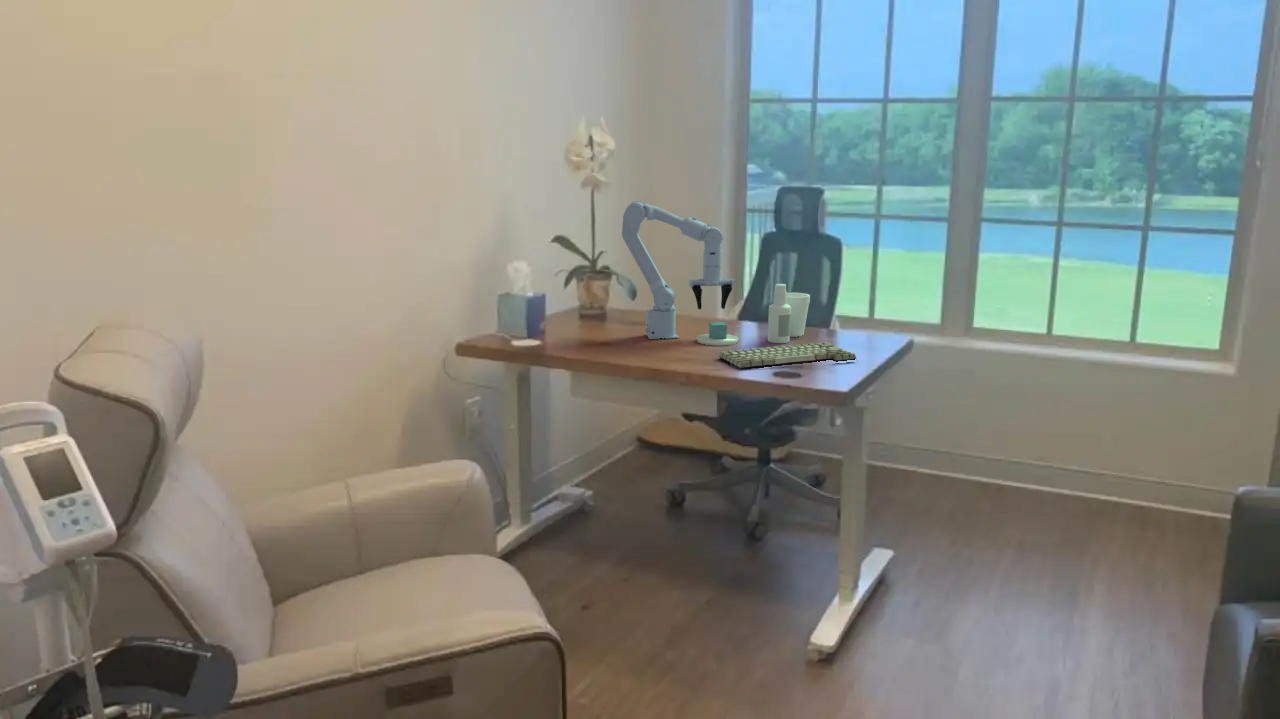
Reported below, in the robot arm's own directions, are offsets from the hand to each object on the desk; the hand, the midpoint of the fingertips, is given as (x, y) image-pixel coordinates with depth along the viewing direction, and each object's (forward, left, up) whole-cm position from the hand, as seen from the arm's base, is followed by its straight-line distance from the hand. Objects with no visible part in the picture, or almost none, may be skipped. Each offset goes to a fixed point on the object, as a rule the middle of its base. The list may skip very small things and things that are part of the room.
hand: (711, 308), depth 322 cm
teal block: (+1, -6, -8) cm, 10 cm away
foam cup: (+28, 0, -10) cm, 29 cm away
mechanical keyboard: (+14, -34, -10) cm, 38 cm away
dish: (+1, -6, -9) cm, 11 cm away
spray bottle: (+20, -9, -10) cm, 24 cm away
